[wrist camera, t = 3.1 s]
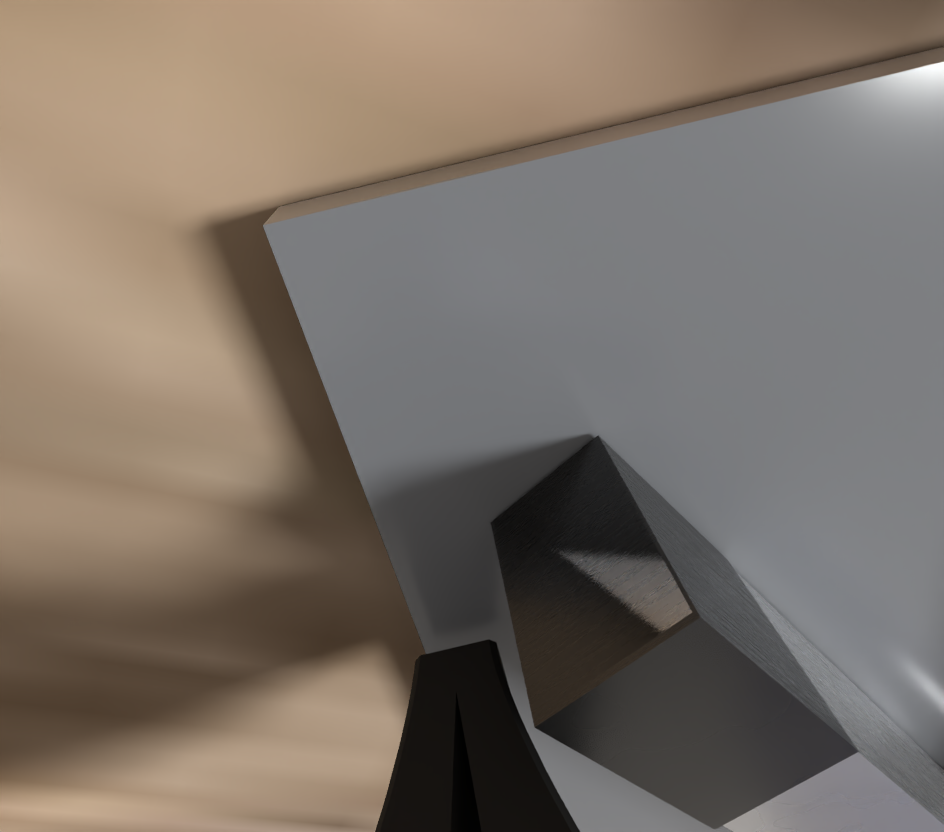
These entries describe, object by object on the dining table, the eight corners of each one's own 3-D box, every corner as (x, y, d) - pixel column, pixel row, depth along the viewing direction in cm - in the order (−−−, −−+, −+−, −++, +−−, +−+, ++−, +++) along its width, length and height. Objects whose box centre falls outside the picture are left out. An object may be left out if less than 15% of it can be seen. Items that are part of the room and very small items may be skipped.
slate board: (1085, 774, 20) (1123, 812, 19) (530, 903, 20) (538, 948, 19) (1621, -117, 8) (1797, -145, 7) (279, 206, 8) (262, 225, 7)
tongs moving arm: (976, 798, 17) (1106, 961, 14) (901, 834, 18) (1010, 997, 14) (598, 434, 9) (700, 617, 6) (490, 522, 10) (534, 727, 7)
